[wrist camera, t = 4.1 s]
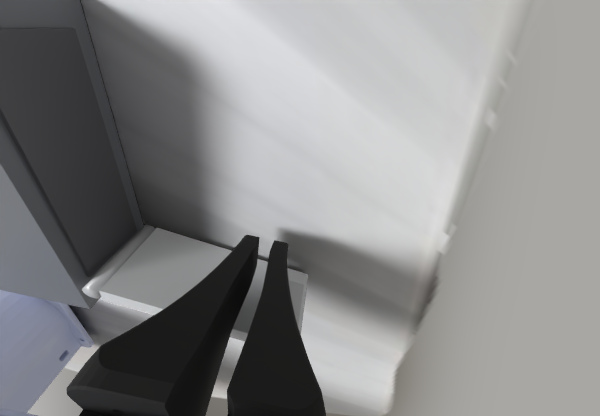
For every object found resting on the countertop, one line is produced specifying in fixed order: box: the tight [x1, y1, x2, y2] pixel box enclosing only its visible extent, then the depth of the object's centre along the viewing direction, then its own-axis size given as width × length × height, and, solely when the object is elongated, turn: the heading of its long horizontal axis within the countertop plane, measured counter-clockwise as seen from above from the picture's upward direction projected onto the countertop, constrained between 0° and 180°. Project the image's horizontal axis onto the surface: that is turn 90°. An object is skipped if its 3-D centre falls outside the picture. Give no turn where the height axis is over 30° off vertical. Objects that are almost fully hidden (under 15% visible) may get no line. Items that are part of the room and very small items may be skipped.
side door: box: [82, 225, 308, 341], centre depth 13 cm, size 10×1×4 cm, turn 73°
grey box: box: [0, 0, 144, 309], centre depth 10 cm, size 13×7×5 cm, turn 171°
